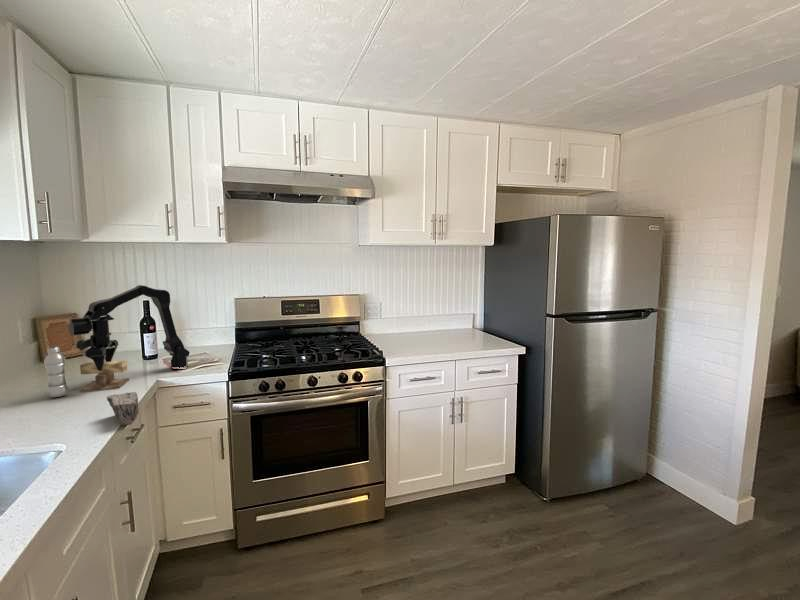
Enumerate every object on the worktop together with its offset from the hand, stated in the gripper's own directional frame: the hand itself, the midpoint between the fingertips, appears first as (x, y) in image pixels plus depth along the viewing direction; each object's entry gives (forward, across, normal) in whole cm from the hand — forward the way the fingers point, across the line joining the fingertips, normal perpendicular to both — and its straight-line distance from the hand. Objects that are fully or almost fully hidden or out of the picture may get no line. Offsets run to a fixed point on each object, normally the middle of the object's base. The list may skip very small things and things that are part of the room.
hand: (104, 367), depth 179 cm
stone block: (+8, +42, +19) cm, 47 cm away
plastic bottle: (+8, +10, -13) cm, 18 cm away
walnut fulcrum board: (+8, 0, 0) cm, 8 cm away
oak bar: (+2, 0, 0) cm, 2 cm away
